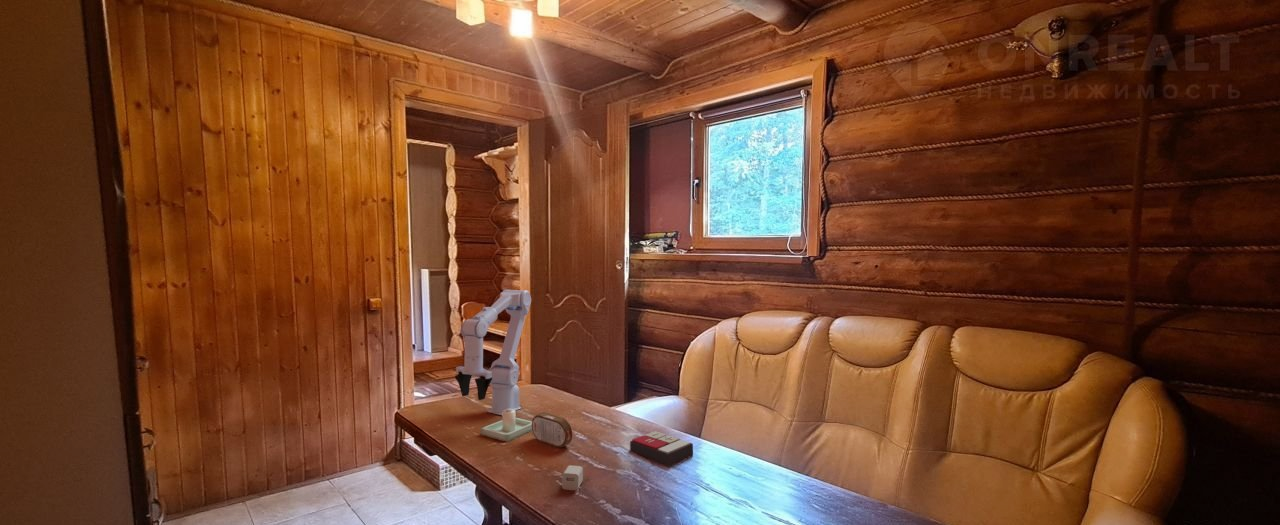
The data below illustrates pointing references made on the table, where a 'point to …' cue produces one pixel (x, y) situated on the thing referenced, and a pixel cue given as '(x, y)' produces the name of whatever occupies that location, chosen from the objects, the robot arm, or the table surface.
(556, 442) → the tin
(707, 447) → the table surface
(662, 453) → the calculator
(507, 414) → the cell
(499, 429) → the trough tray
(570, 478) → the usb wall charger
